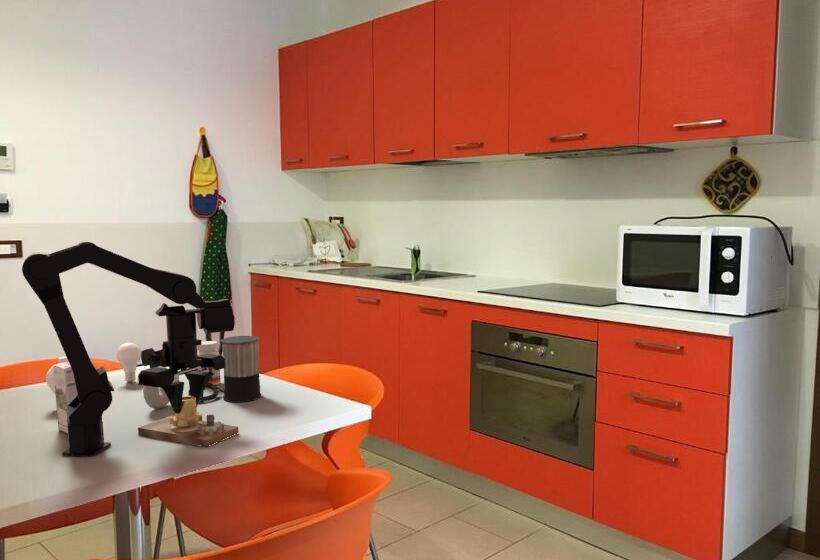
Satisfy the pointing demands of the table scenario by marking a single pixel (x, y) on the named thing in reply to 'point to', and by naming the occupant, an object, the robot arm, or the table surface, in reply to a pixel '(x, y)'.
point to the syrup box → (64, 393)
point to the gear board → (189, 431)
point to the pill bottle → (210, 348)
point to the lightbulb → (129, 359)
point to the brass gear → (187, 413)
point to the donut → (155, 396)
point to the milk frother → (239, 370)
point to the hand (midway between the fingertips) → (185, 410)
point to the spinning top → (51, 375)
